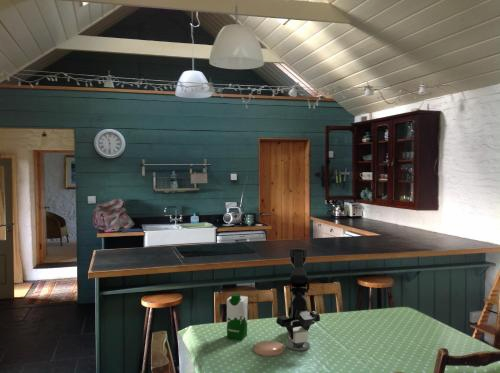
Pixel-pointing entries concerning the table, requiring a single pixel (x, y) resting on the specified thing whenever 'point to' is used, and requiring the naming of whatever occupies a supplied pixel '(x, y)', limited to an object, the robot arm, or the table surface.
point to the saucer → (269, 348)
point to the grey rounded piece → (298, 346)
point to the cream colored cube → (299, 335)
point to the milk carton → (237, 317)
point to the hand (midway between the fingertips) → (298, 338)
